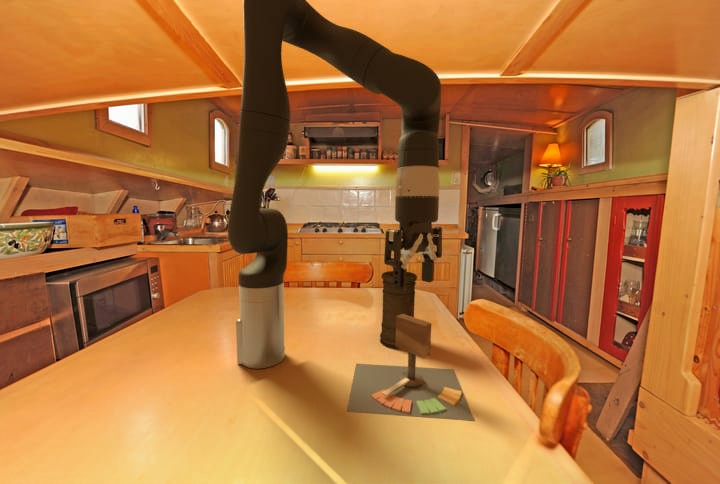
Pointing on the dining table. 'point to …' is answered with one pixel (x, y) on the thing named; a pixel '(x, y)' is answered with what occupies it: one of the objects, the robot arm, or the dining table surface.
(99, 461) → the dining table surface
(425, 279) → the robot arm
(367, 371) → the dial board
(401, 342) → the peg knob
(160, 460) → the dining table surface
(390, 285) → the container
